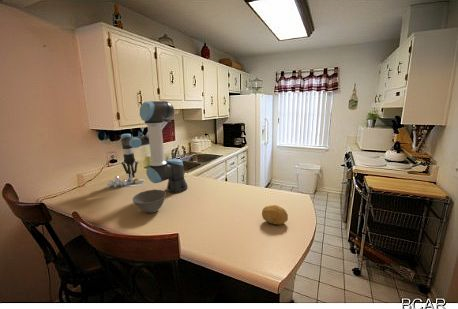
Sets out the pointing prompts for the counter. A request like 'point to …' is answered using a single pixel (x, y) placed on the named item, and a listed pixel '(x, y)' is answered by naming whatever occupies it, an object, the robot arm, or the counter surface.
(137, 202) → the bowl
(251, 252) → the counter surface
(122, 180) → the spacers
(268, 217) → the potato
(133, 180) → the nut
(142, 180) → the mat
